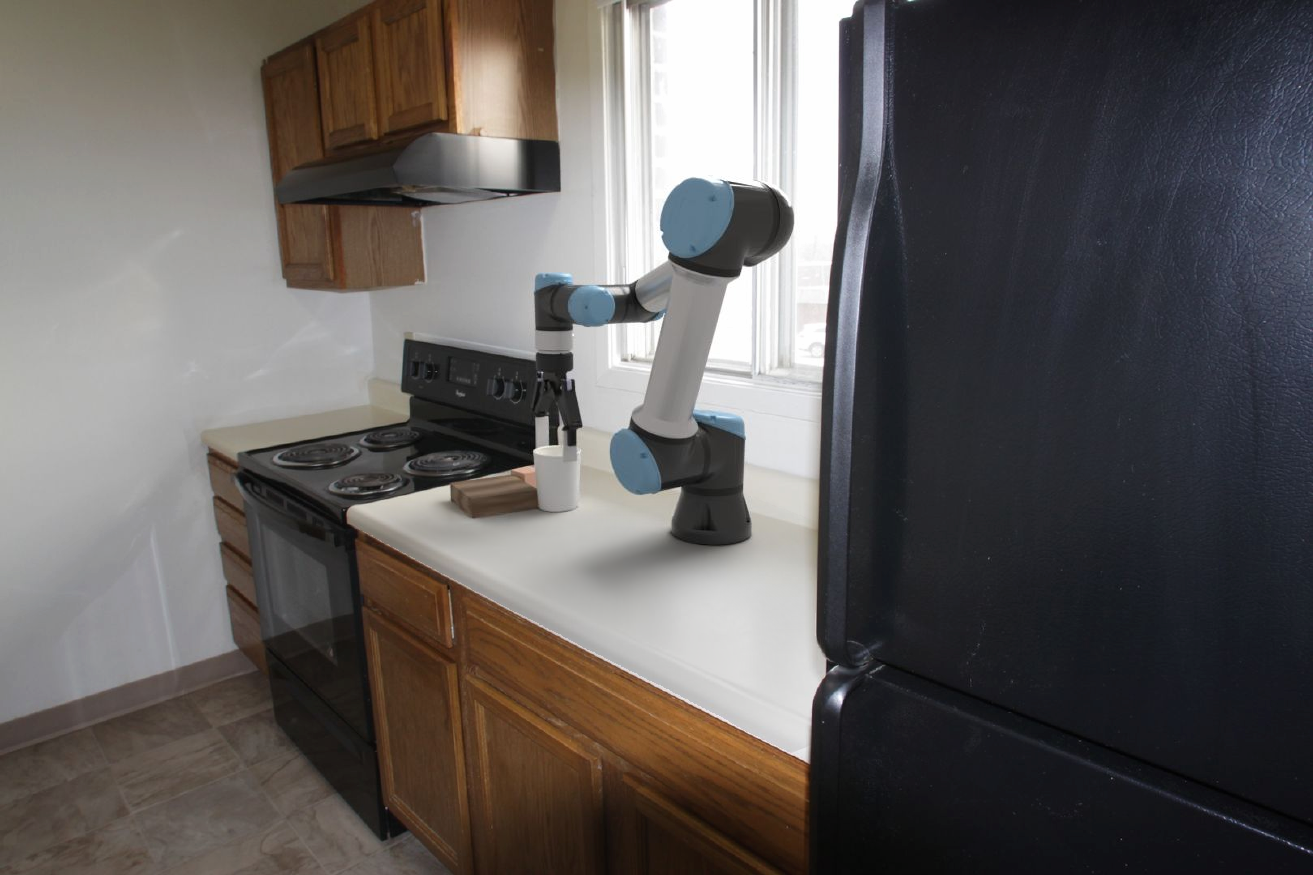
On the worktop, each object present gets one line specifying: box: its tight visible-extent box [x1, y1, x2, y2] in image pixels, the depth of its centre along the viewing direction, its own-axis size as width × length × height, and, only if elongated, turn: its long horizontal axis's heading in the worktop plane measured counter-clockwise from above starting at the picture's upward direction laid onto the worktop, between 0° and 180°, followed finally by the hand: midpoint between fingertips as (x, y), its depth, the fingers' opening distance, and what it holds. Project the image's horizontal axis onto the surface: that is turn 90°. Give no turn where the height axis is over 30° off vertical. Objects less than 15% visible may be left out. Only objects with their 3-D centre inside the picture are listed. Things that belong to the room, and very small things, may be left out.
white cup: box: [532, 444, 582, 513], centre depth 170 cm, size 10×10×12 cm
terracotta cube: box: [510, 465, 537, 489], centre depth 182 cm, size 5×5×5 cm
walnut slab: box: [449, 474, 539, 519], centre depth 172 cm, size 14×14×4 cm
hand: (555, 454), depth 169 cm, fingers open, 13 cm apart
